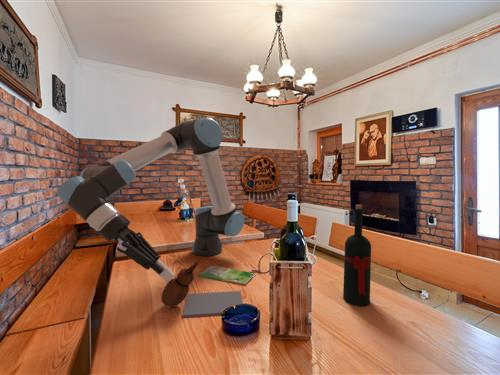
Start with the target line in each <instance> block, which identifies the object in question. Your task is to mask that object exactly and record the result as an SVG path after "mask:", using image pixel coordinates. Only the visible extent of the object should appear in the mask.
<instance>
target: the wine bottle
mask: <svg viewBox="0 0 500 375" xmlns="http://www.w3.org/2000/svg"><path fill="white" fill-rule="evenodd" d="M363 210H364V209H363V204H355V209H354V234H351V235H350V236H348V237H347V238H346V240H345V243H344V258H343V261H344V262H343V263H344V265H343V291H342V292H343V294H342V295H343V296H342V300H344V301H345V302H346V303H347V304H350V305H352V306H354V307H355V306H356V307H367V306H369V305H370V304H371V271H372V270H371V268H372V267H371V266H372V264H371V263H372V244H371V242H370V240H369V239H368V238H367V237H366V236H364V235H363V213H364V212H363Z"/></svg>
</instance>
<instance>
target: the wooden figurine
mask: <svg viewBox="0 0 500 375" xmlns="http://www.w3.org/2000/svg"><path fill="white" fill-rule="evenodd" d="M199 262H201V261H200V260H198V261H197V262H194V263H193V264H192V265H190V267H188V268H186V267H185V268H182V269H181V270H180V271H179V272H178V273H177V275H176V277H175V278H171V279H170V280H169V282H168V283H167V282H166V285H165V286H164V288H163V290H162V292H161V293H162V294H161V297H160V299H161V302H162V304H163V305H165V306H166V307H168V308H169V307H170V308H173V307H176V306H178V305H179V304H181V303H182V302H183V301H184V300H185V298H187V296H188V294H189V290H190V284H192V282H193V281H194V278H195V274H194V271H195V270H196V267H197V266H198V265H199Z"/></svg>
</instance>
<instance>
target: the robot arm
mask: <svg viewBox="0 0 500 375" xmlns="http://www.w3.org/2000/svg"><path fill="white" fill-rule="evenodd" d="M223 135H224V133H223V129H222V127H221V126H220V124H219V122H217V121H216V120H214V119H213V118H210V117H204V118H203V117H201V118H198V119H192V120H188V121H184V122H183V121H182V122H181V123H178V124H177V125H175V126H173V127H171V128H169V129H166V130H165V131H163V132H161V134H160V136H158V137H156V138H154V139H151V140H149V141H147V142H145V143H143V144H141V145H138V146H136V147H134V148H132V149H129V150H127V151H125V152H123V153H120V154H119V155H116V156H113V157H112V158H109V159H107V160H105V161H102V162H100V163H98V164H95V165H94V166H93V165H92V166H90V165H89V166H88V167H85V168H84V169H83V170H81V173H80V174H79V175H77V176H73V177H70V178H69V179H66V180H65V181H64V182H63V183H61V185H60V186H59V187H58V189H57V190H56V192H57V193H56V194H57V196H58V197H59V199H61V201H62V202H64V203H65V204H66V206H67V207H69V208H70V209H71V210H72V211H73V212H74V213H75V214H77V215H78V216H79V217H80V218H81V219H82V220H84V221H85V222H86V223H87V224H88V225H89V228H93V229H94V230H95V231H96V232H99V235H100V236H102V237H103V239H105V240H106V241H107V242H112V241H113V240H114V241H115V243H116V244H118V246H117V247H116V251H118V252H120V253H122V254H124V255H126V256H127V258H130V259H131V260H133V261H134V262H135V263H137V265H140V266H141V267H143V269H145V270H147V271H149V270H150V269H152V270H153V271H154V273H155V274H157V275H158V276H159V277H160V278H161V279H162V280H164V281H165V283H166V284H167V283H168V282H169V281H170V280H171V279H173V277H175V275H176V274H175V272H174V271H172V270H171V269H170V268H169V266H167V265H166V264H165V263H164V262H163V261H161V260H160V258H161V255H160V254H159V253H158V252H157V251H156V250H155V248H154V247H153V246H152V245H151V244H150V243H149V242H148V241H147V240H146V239H145V237H144V236H143V235H142V233H141V232H140V231H138V232H135V231H134V230H132V229H131V228H129V226H130V224H131V221H130V220H129V219H128V218H126V216H124V214H121V213H120V210H119V209H118V208H116V207H115V206H114V205H113V204H112V203H111V202H109V200H108V199H109V198H111V197H112V196H113V195H115V194H116V193H118V192H119V191H120V190H122V189H123V188H125V187H127V186H128V185H129V184H131V183H132V182H133V181H134V180H135V179H136V178H137V174H136V171H138V170H139V169H141V168H143V167H145V166H147V165H149V164H151V163H153V162H155V161H157V160H159V159H161V158H163V157H164V156H166V155H168V154H176V153H177V152H179V151H184V150H191V151H192V154H193V156H194V157H196V158H198V161H199V165H200V168H201V171H202V175H203V178H204V181H205V184H206V189H207V191H208V194H209V198H210V201H211V205H209V206H201V207H197V208H196V209H195V214H194V215H195V216H194V218H195V225H194V226H195V237H194V241H193V244H192V249H191V250H192V254H193V255H195V256H201V257H209V256H210V257H212V256H216V255H219V254H221V253H222V252H223V244H222V242H221V238H220V235H221V236H226V237H237V236H238V235H239V234H240V233H241V232H242V230H243V228H244V225H245V216H244V215H243V214H244V213H243V212H241V211H238V210H237V206H236V203H234V202H232V200H231V196H230V192H229V189H228V188H229V187H228V186H227V182H226V178H225V177H226V176H225V173H224V170H223V166H222V163H221V159H220V155H219V151H220V150H221V146H220V145H221V143H222V142H223V138H224V136H223Z"/></svg>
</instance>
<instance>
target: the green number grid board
mask: <svg viewBox="0 0 500 375" xmlns="http://www.w3.org/2000/svg"><path fill="white" fill-rule="evenodd" d="M250 272H251V271H247V270H246V271H245V270H240V269H233V268H228V267H223V266H217V265H216V266H215V265H210V266H209V267H208V268H206V269H205V270H204V271H202V272H200V273H198V277H201V278H206V279H210V280H215V281H220V282H221V281H222V282H224V283H231V284H235V285H240V286H244V287H246V286H247V285H248V284H249V283H250V282H249V281H250V280H251V279H252V278H253V279H254V277H255V276H256V275H257V273H256V272H252V273H253V274H250ZM255 274H256V275H255ZM254 275H255V276H254ZM253 276H254V277H253ZM253 279H252V280H253ZM252 280H251V281H252Z"/></svg>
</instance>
